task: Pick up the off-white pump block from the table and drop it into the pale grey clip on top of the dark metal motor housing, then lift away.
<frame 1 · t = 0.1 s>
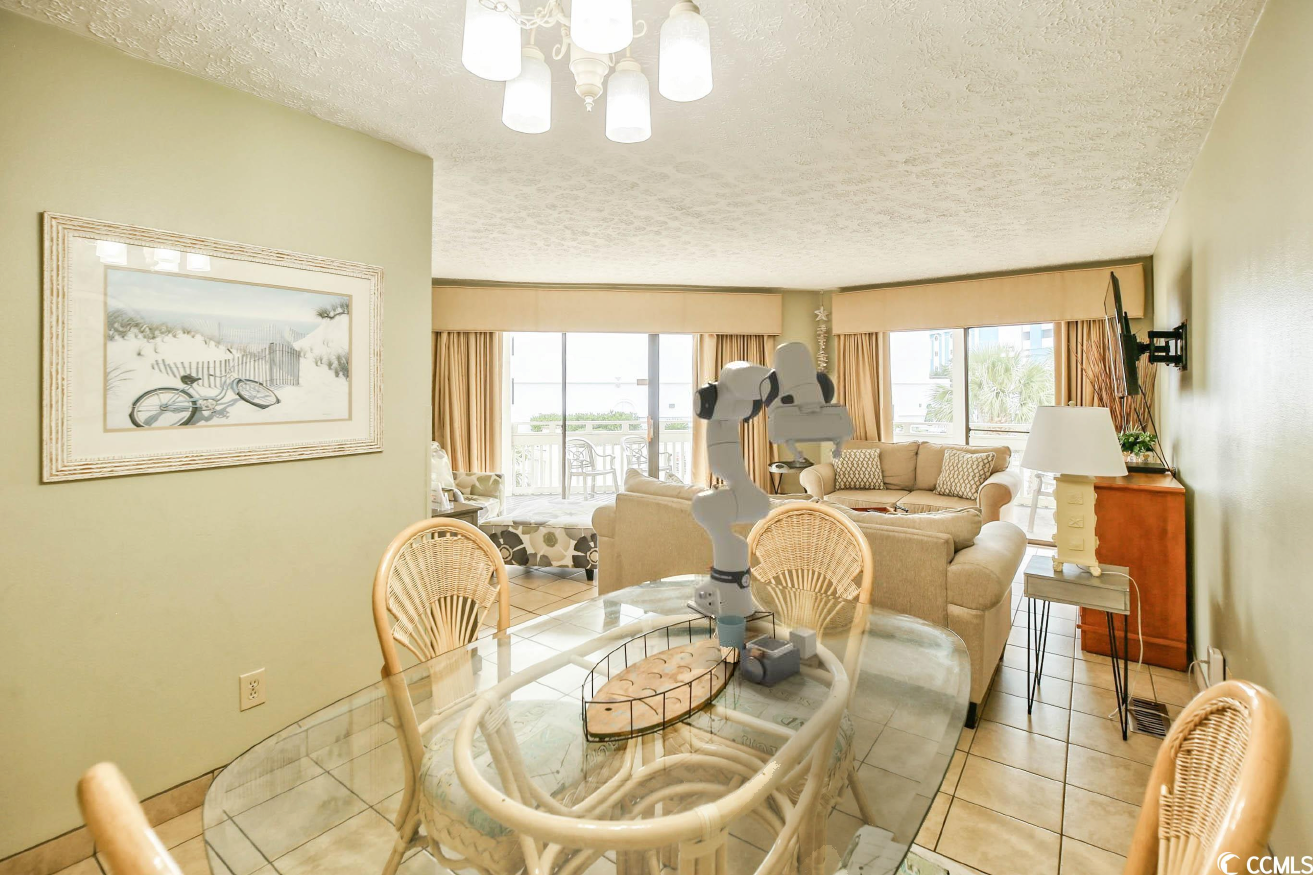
hand: (818, 458, 137), 54 cm above the table, tool tilted 30°, fingers open, 8 cm apart
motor: (770, 673, 152), on the table
pump block: (802, 653, 163), on the table
cup: (731, 659, 160), on the table
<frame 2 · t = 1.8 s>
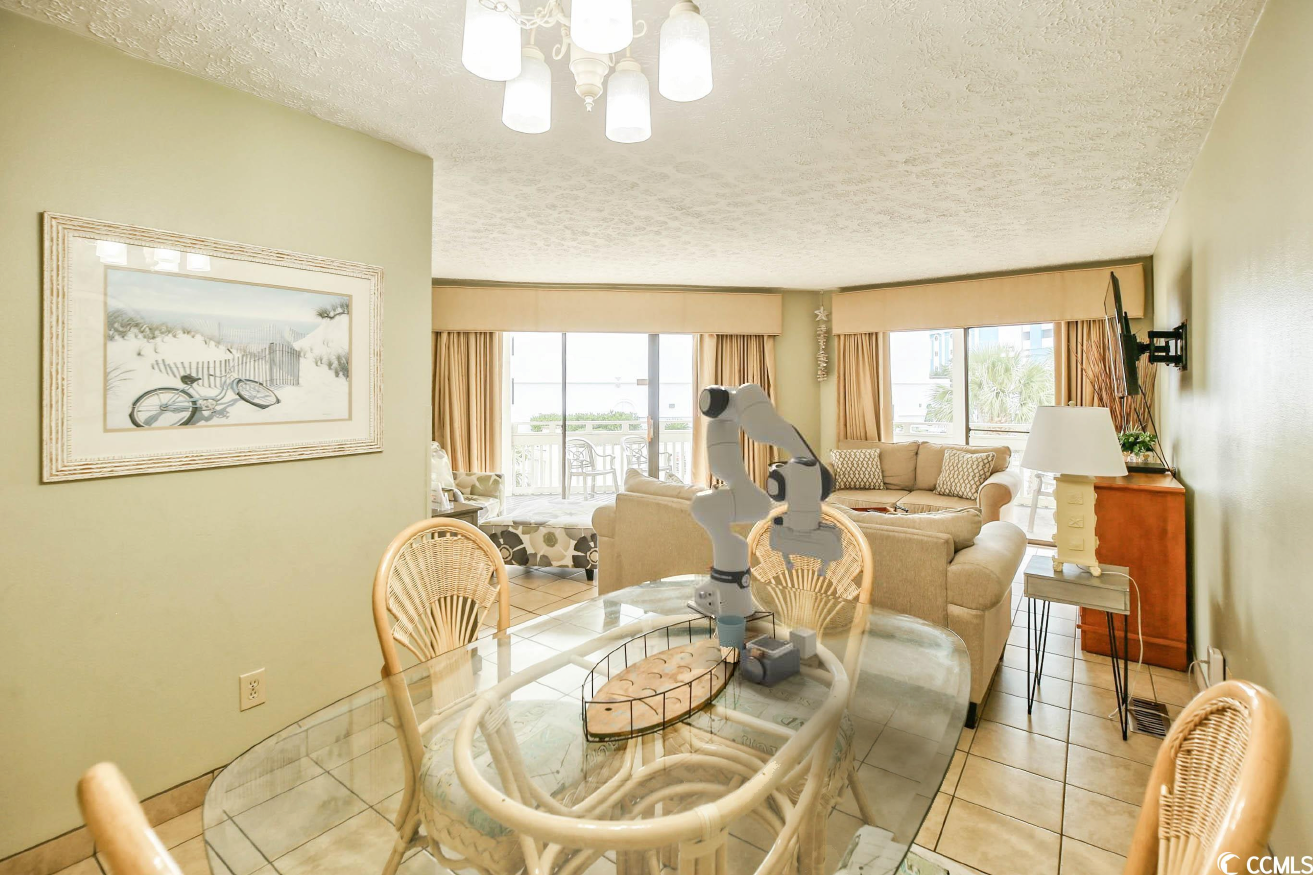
hand: (805, 572, 160), 22 cm above the table, tool pointing down, fingers open, 8 cm apart
nothing on the table moved.
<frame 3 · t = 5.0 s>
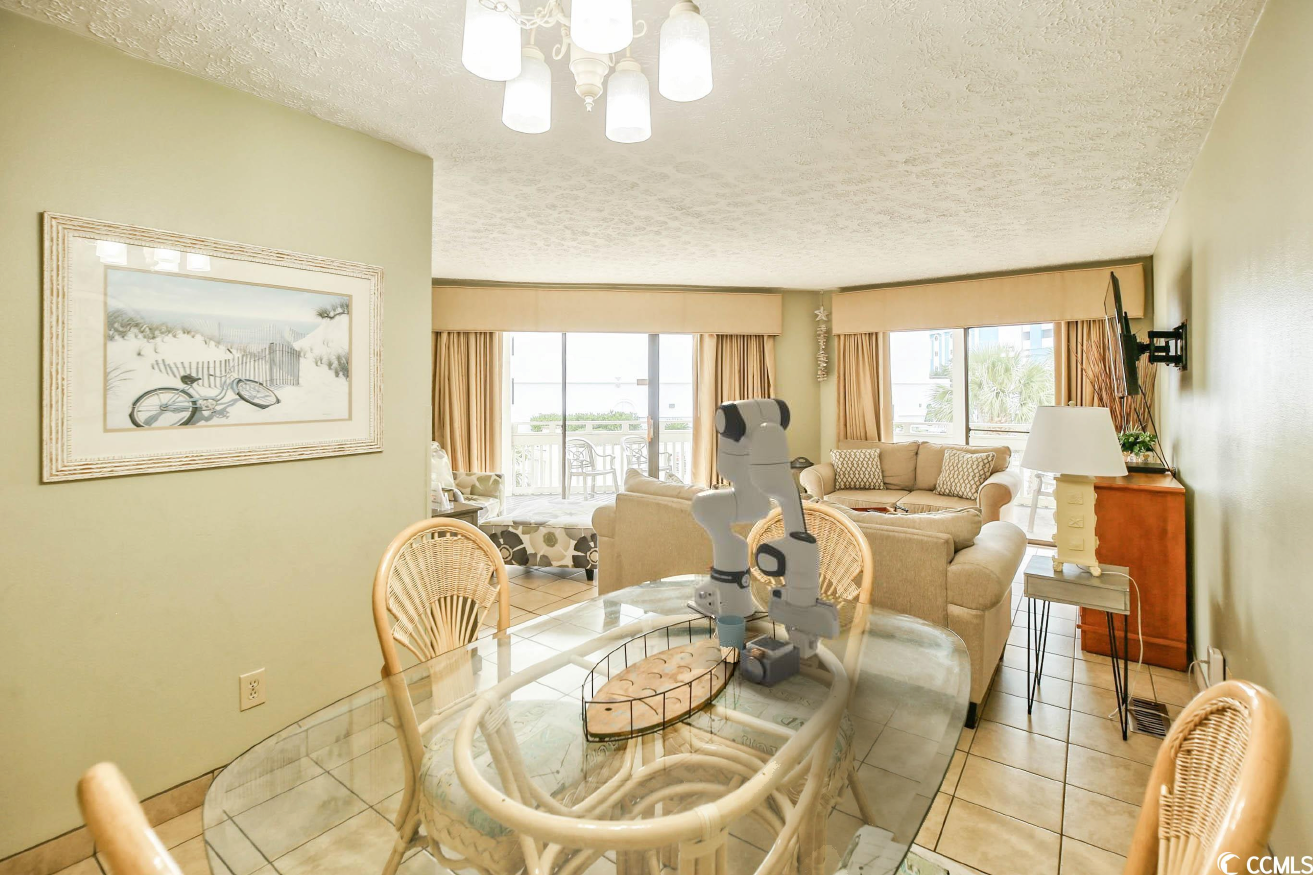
hand: (802, 645, 163), 2 cm above the table, tool pointing down, fingers closed on pump block, 5 cm apart
pump block: (802, 653, 163), on the table, touching gripper
everything else where it was.
when the fingers open (9 cm above the table, at t = 9.9 s): pump block drops 1 cm, resting on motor.
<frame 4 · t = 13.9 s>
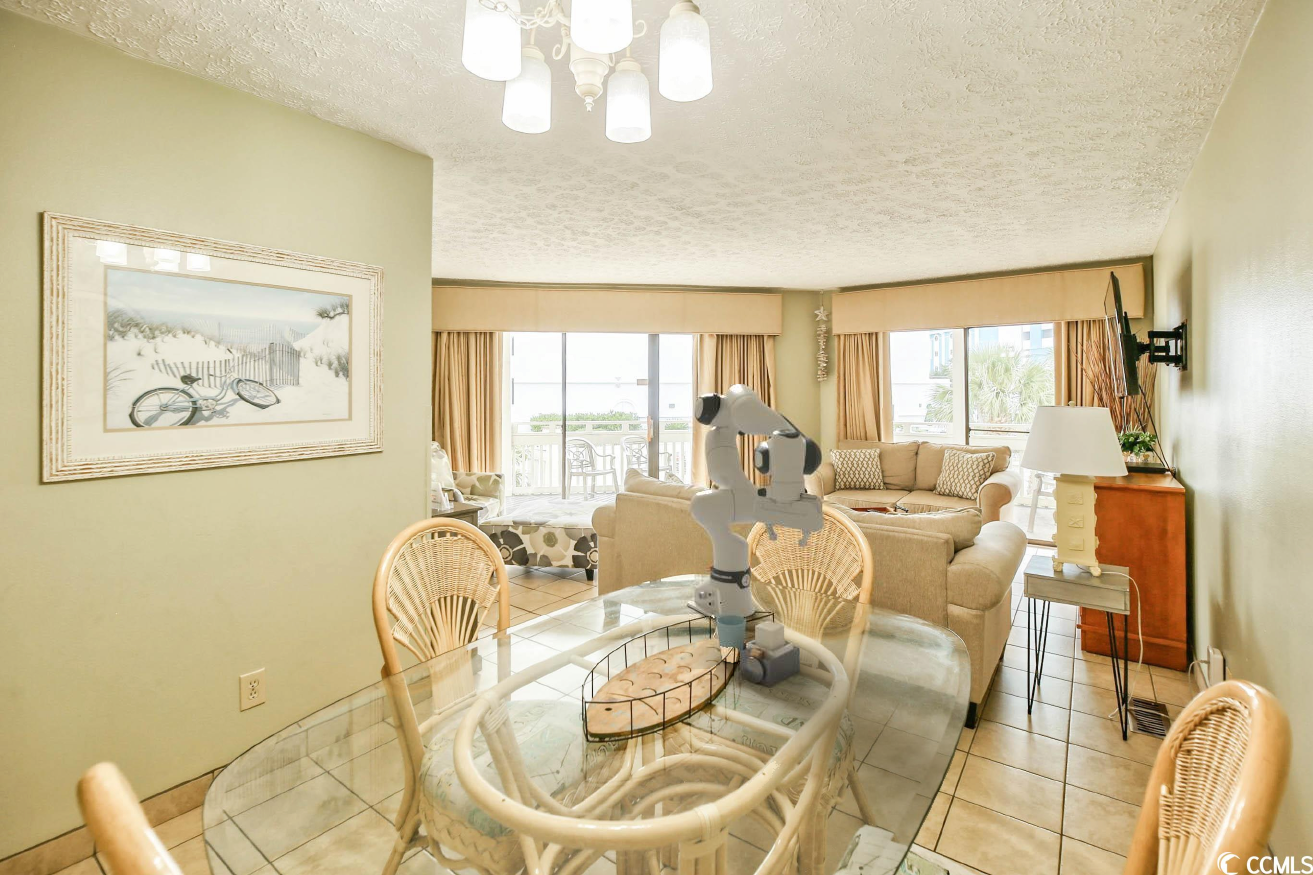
hand: (787, 543, 163), 29 cm above the table, tool pointing down, fingers open, 8 cm apart
pump block: (769, 649, 152), point 6 cm above the table, touching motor
everything else where it was.
at the end: pump block 0.1 cm off-centre on the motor, point 6.0 cm above the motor's base; pump block tilted 0°; the gripper is holding nothing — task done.
